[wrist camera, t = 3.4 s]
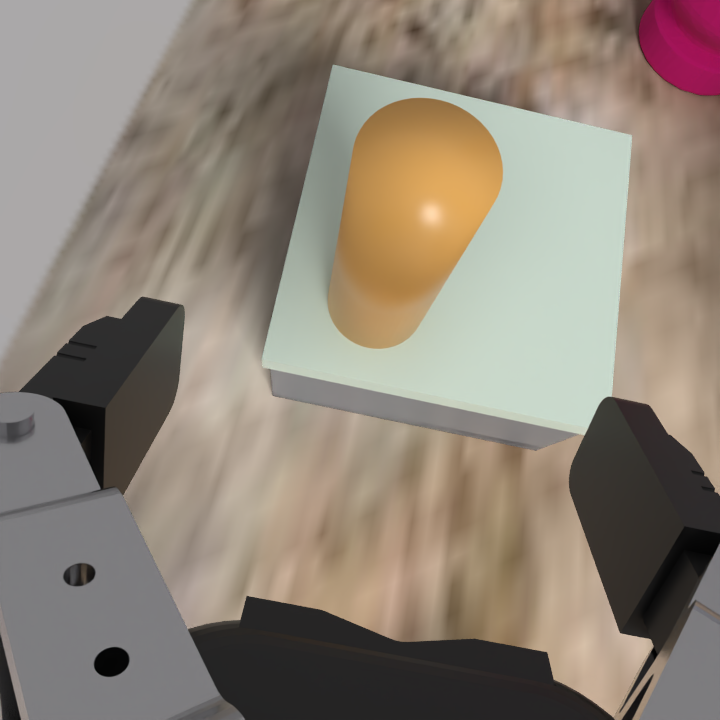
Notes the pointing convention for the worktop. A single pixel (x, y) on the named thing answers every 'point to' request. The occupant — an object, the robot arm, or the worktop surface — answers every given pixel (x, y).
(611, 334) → the lid
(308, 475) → the worktop surface
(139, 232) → the worktop surface
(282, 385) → the parts tub
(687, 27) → the pepper mill
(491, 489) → the worktop surface
